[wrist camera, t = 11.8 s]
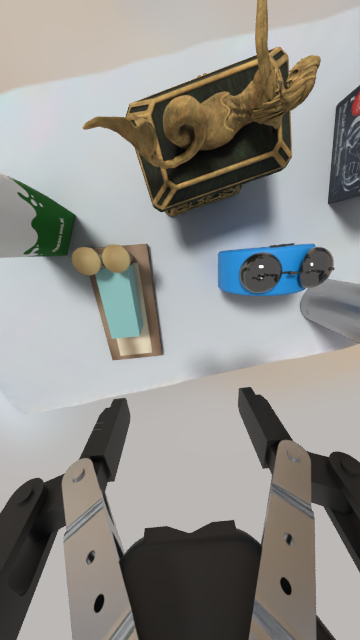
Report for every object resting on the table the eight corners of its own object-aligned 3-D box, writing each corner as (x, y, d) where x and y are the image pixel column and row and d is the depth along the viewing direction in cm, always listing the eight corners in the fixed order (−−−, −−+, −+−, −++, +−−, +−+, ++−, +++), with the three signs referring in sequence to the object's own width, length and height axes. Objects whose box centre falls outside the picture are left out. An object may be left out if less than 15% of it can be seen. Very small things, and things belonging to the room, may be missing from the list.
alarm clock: (210, 283, 34) (239, 304, 20) (209, 250, 32) (242, 248, 18) (273, 277, 34) (345, 294, 20) (277, 244, 32) (362, 237, 18)
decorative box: (243, 118, 25) (446, -244, 7) (251, 193, 29) (399, 89, 10) (117, 164, 26) (1, -44, 8) (141, 231, 30) (99, 197, 11)
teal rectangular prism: (133, 264, 30) (126, 266, 26) (143, 325, 35) (139, 336, 30) (105, 266, 30) (93, 269, 25) (119, 327, 35) (111, 338, 30)
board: (147, 244, 30) (139, 240, 22) (161, 352, 39) (160, 379, 31) (85, 249, 30) (54, 247, 22) (114, 357, 39) (99, 385, 30)
